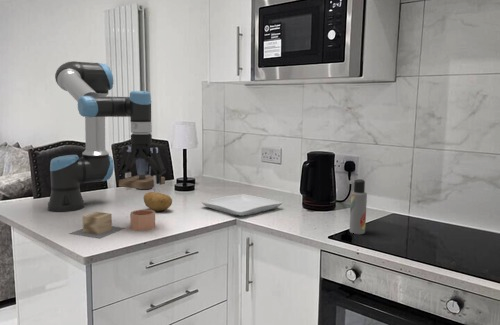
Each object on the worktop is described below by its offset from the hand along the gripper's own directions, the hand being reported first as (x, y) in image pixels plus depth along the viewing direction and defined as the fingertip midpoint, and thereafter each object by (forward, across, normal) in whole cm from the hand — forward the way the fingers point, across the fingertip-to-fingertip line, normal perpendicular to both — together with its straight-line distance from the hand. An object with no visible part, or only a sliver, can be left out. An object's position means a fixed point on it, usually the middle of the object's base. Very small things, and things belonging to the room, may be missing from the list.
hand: (142, 190), depth 159 cm
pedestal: (+14, -12, -11) cm, 21 cm away
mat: (+14, -12, -11) cm, 22 cm away
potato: (+14, -10, +25) cm, 31 cm away
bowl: (+14, 0, 0) cm, 14 cm away
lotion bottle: (+15, +76, +28) cm, 82 cm away
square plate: (+15, +22, +44) cm, 51 cm away
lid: (-2, 0, 0) cm, 2 cm away
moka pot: (+14, -45, +64) cm, 80 cm away
